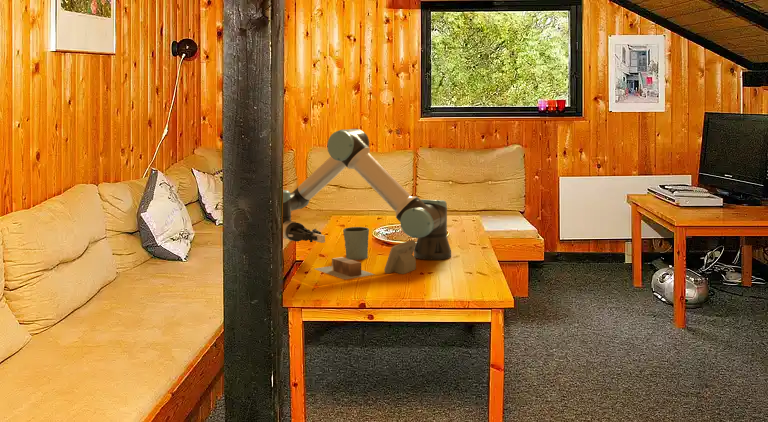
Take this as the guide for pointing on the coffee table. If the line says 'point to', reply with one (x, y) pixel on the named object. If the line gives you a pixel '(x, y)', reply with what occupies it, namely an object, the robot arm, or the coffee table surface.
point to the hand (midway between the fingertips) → (323, 239)
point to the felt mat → (340, 275)
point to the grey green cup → (356, 242)
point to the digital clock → (401, 258)
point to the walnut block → (346, 266)
